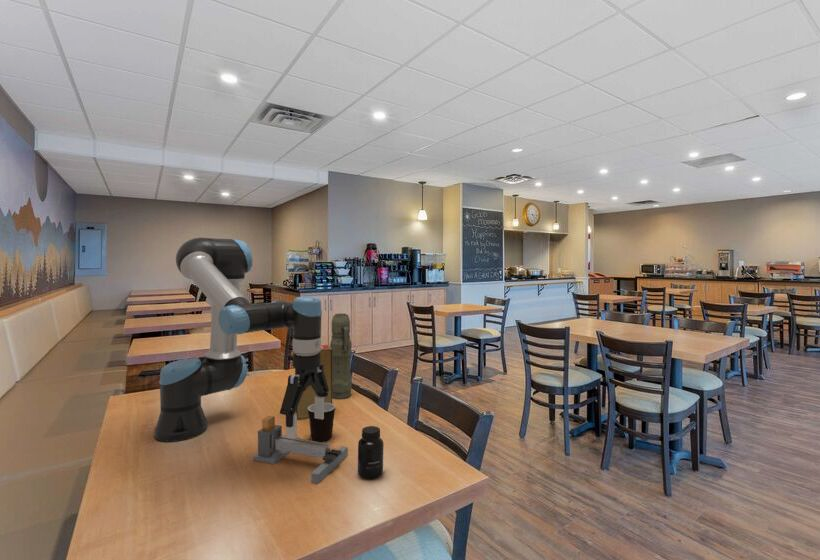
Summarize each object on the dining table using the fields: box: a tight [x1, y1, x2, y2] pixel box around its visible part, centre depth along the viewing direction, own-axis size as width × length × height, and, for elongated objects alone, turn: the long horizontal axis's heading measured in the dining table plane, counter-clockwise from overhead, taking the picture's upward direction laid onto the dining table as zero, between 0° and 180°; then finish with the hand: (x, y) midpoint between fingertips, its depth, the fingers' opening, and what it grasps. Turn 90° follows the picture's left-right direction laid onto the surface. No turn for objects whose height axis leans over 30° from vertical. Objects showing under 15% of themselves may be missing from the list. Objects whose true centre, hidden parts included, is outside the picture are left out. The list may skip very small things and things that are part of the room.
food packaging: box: [294, 344, 333, 420], centre depth 147 cm, size 13×9×25 cm
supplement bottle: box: [357, 425, 385, 480], centre depth 105 cm, size 7×7×12 cm
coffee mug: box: [308, 403, 336, 443], centre depth 128 cm, size 12×9×10 cm
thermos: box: [329, 313, 352, 400], centre depth 167 cm, size 9×12×35 cm
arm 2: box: [279, 434, 342, 457], centre depth 111 cm, size 19×2×3 cm, turn 71°
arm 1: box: [275, 438, 336, 462], centre depth 109 cm, size 19×2×3 cm, turn 72°
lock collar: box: [257, 415, 283, 457], centre depth 114 cm, size 4×5×10 cm
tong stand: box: [252, 434, 349, 485], centre depth 111 cm, size 24×16×7 cm, turn 71°
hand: (306, 427), depth 110 cm, fingers open, 13 cm apart
